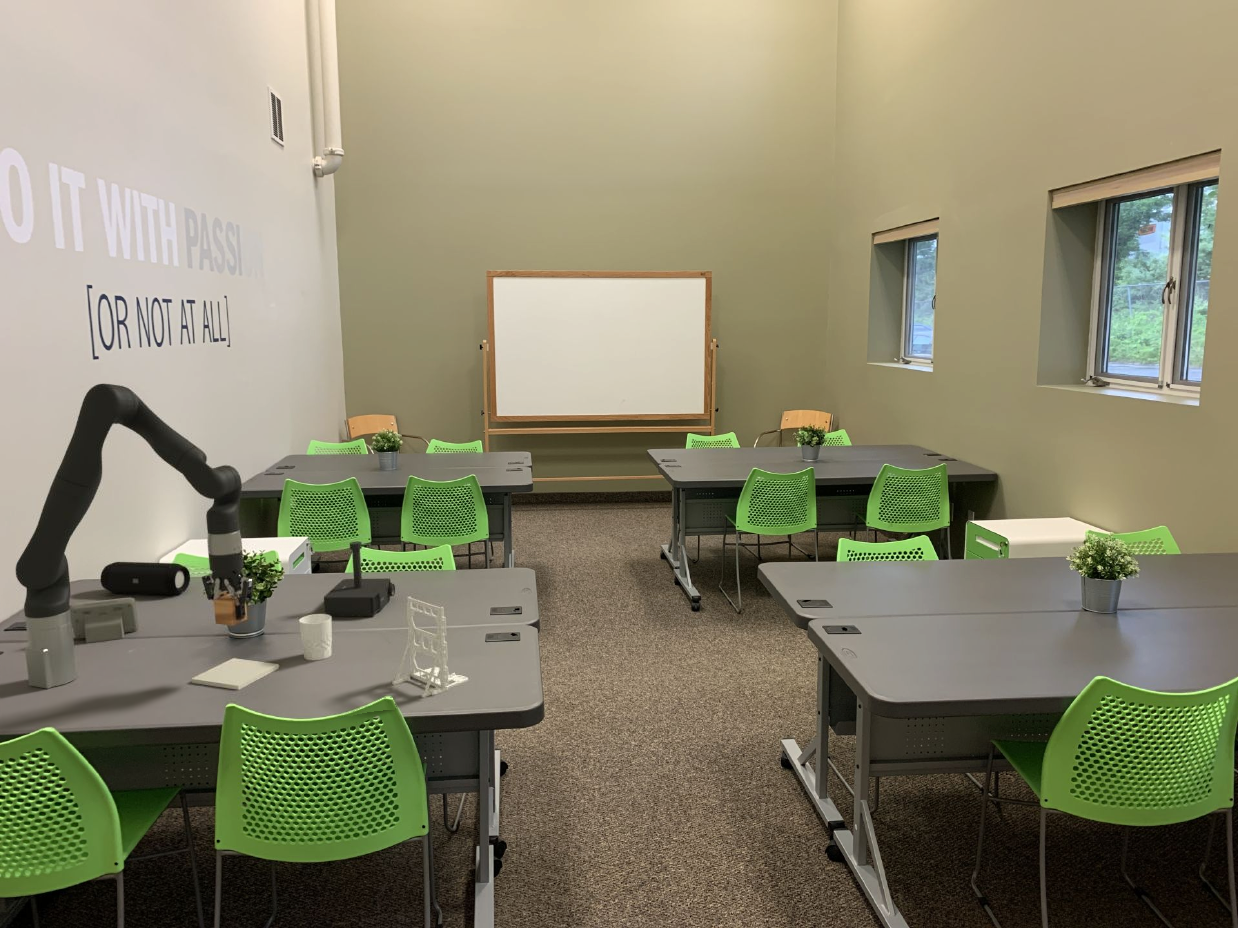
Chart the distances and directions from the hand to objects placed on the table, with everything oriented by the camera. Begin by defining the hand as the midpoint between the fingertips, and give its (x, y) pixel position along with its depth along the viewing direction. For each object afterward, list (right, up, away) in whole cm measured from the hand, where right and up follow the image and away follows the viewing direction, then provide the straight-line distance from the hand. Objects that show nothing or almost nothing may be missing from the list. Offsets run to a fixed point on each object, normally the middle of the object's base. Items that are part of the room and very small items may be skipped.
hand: (231, 617), depth 223 cm
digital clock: (-48, -11, +32) cm, 58 cm away
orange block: (0, -1, 0) cm, 1 cm away
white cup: (+16, -13, +14) cm, 25 cm away
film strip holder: (+49, -15, -3) cm, 51 cm away
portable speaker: (-57, -4, +71) cm, 91 cm away
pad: (0, -14, +2) cm, 15 cm away
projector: (+17, -6, +54) cm, 57 cm away
